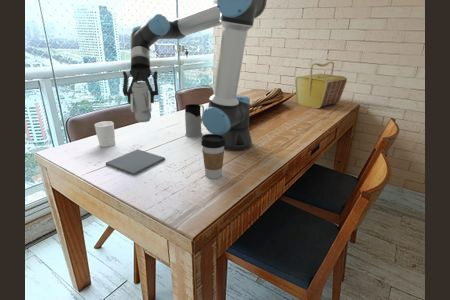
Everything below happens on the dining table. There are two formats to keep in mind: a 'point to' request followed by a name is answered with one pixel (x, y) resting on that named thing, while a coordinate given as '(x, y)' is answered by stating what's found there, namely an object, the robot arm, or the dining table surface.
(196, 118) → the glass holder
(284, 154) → the dining table surface
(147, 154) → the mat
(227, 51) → the robot arm
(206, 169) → the coffee cup
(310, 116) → the dining table surface
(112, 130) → the white cup
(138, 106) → the energy drink can
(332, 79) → the picnic basket
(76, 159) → the dining table surface
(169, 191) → the dining table surface
